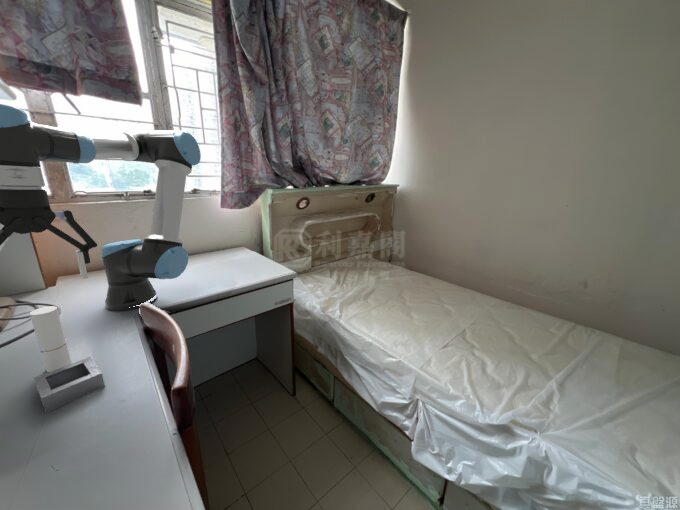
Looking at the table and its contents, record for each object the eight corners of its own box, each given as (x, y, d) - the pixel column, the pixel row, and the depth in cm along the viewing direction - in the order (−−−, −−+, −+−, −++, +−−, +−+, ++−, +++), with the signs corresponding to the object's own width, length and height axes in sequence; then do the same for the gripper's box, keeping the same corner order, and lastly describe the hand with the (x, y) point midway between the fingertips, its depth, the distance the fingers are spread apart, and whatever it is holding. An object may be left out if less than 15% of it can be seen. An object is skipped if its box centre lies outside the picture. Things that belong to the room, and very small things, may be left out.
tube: (76, 360, 67) (62, 306, 63) (59, 372, 63) (43, 314, 59) (58, 360, 67) (43, 306, 63) (40, 372, 63) (23, 314, 59)
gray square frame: (37, 391, 57) (33, 377, 56) (92, 369, 64) (89, 357, 63) (46, 413, 52) (41, 398, 51) (104, 386, 59) (101, 373, 58)
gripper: (-96, 187, 43) (-52, 308, 48) (102, 189, 63) (118, 274, 68) (-93, 186, 47) (-53, 297, 52) (92, 188, 67) (108, 268, 72)
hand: (44, 284), depth 60 cm, fingers open, 13 cm apart
